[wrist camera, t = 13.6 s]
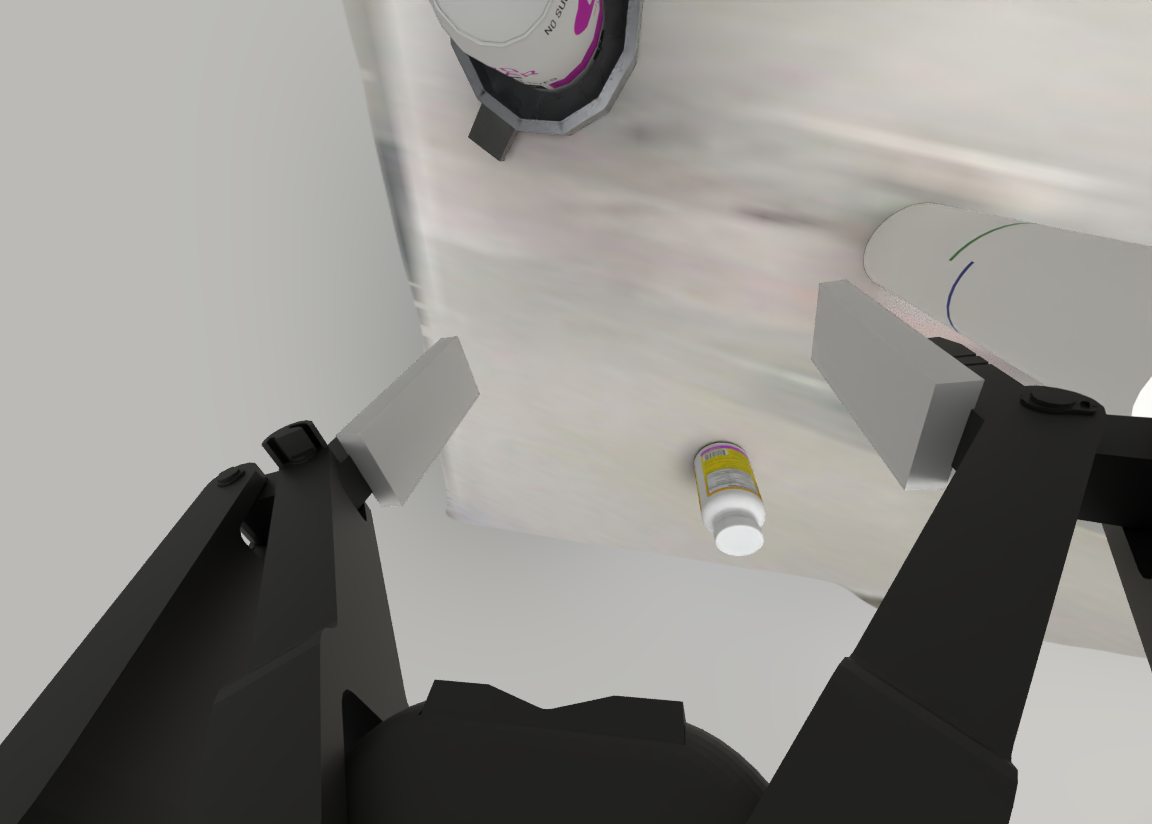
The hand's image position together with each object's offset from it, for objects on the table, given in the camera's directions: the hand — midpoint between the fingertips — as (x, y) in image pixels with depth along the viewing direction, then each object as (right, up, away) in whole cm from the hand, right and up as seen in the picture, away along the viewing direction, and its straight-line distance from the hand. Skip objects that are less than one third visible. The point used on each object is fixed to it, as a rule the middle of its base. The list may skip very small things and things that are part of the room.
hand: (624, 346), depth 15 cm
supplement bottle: (+17, -9, +37) cm, 41 cm away
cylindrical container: (+28, +12, +21) cm, 37 cm away
